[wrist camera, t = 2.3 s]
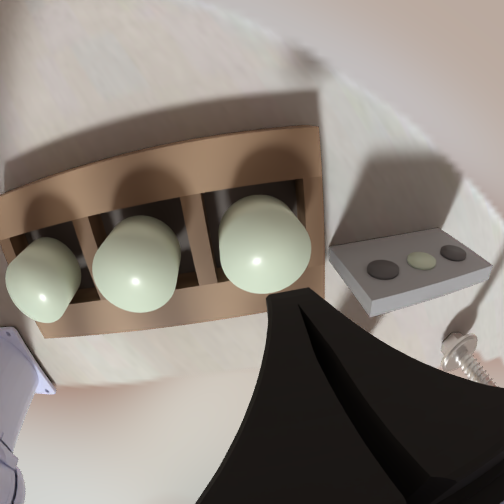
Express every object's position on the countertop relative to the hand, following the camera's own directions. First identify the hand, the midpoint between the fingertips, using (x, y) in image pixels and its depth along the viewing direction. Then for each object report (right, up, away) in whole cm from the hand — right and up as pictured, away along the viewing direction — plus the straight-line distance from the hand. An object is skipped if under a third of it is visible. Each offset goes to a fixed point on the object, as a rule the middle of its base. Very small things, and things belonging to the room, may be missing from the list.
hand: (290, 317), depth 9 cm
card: (+8, +3, +10) cm, 13 cm away
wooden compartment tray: (-7, +3, +8) cm, 11 cm away
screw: (+19, -7, +16) cm, 26 cm away
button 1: (-1, +3, +6) cm, 7 cm away
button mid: (-7, +2, +6) cm, 9 cm away
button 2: (-13, +1, +5) cm, 14 cm away
